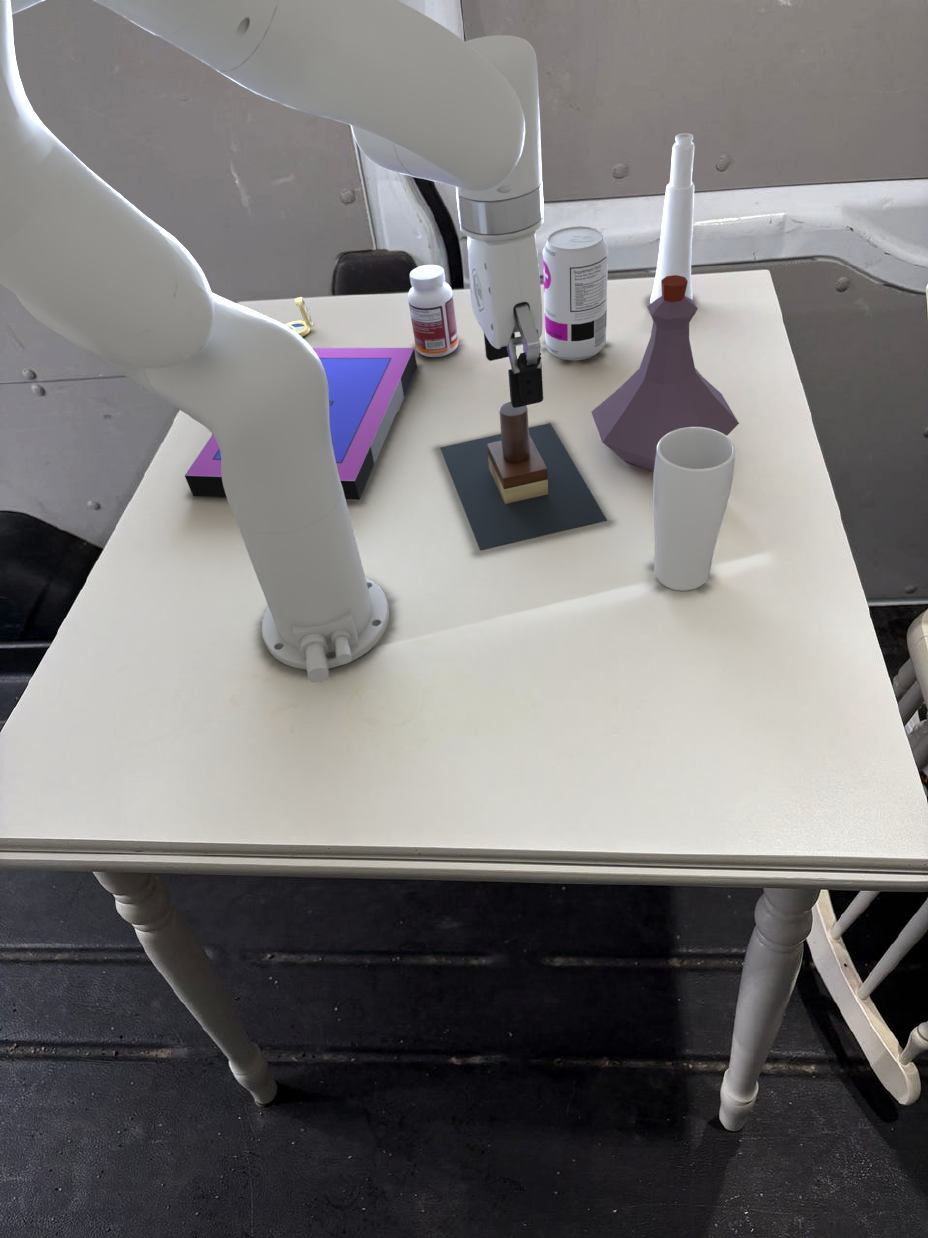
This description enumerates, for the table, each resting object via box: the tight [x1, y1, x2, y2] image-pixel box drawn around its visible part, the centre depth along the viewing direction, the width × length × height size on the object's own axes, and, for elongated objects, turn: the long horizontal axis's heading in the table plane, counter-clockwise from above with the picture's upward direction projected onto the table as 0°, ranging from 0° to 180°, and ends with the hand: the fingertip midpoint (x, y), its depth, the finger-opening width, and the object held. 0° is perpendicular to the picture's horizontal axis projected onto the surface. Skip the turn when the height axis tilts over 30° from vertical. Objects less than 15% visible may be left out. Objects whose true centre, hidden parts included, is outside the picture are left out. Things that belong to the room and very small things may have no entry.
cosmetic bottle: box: [649, 132, 696, 304], centre depth 114 cm, size 6×6×22 cm
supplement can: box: [542, 225, 609, 361], centre depth 110 cm, size 8×8×15 cm
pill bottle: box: [407, 264, 459, 358], centre depth 115 cm, size 6×6×11 cm
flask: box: [590, 275, 740, 473], centre depth 90 cm, size 16×16×20 cm
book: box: [184, 347, 418, 501], centre depth 107 cm, size 21×3×30 cm
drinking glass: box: [652, 427, 737, 592], centre depth 77 cm, size 7×7×15 cm
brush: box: [487, 401, 548, 504], centre depth 92 cm, size 7×5×10 cm
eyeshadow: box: [284, 296, 314, 338], centre depth 126 cm, size 4×5×5 cm
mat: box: [439, 422, 608, 551], centre depth 95 cm, size 20×14×1 cm
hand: (513, 379), depth 86 cm, fingers open, 9 cm apart
